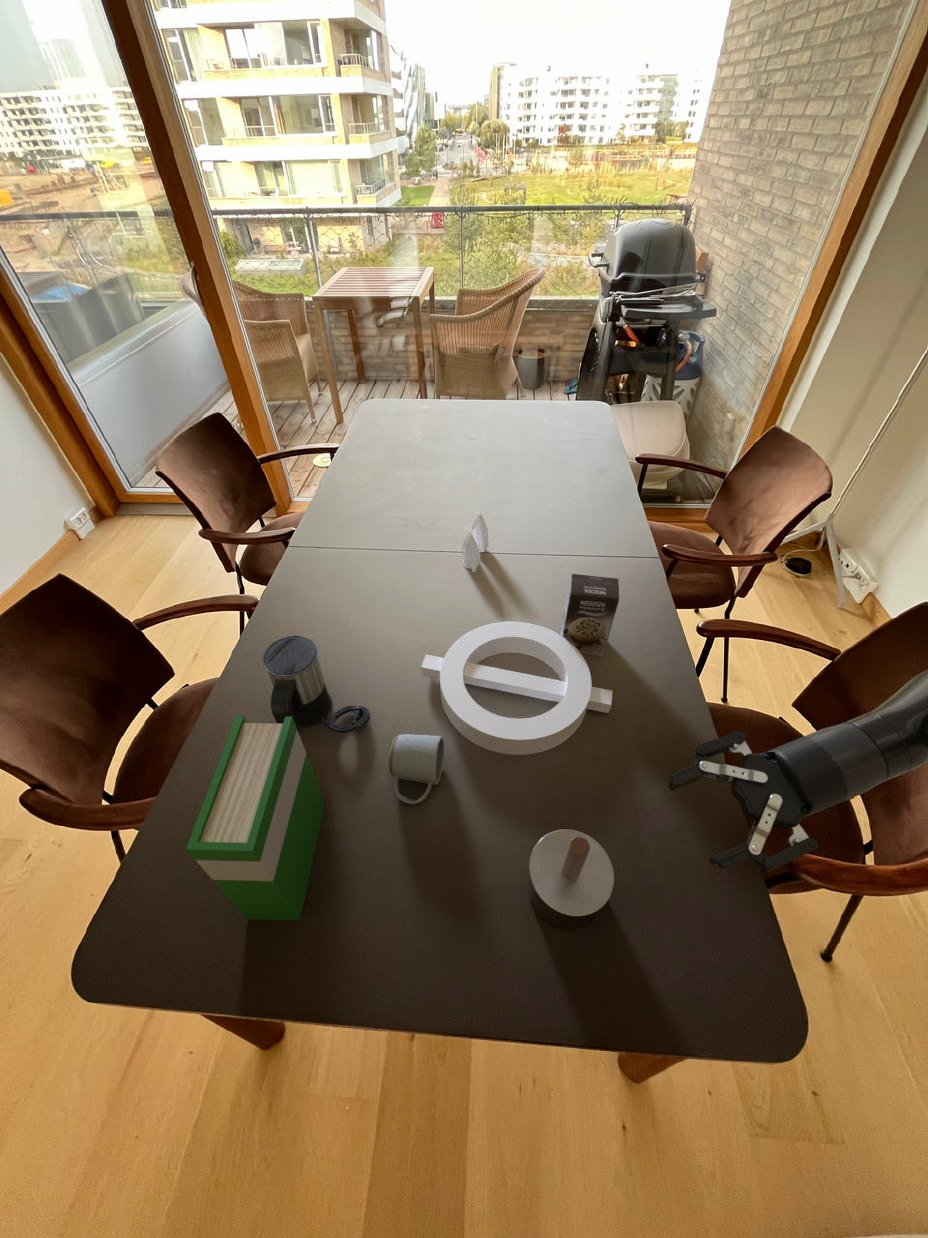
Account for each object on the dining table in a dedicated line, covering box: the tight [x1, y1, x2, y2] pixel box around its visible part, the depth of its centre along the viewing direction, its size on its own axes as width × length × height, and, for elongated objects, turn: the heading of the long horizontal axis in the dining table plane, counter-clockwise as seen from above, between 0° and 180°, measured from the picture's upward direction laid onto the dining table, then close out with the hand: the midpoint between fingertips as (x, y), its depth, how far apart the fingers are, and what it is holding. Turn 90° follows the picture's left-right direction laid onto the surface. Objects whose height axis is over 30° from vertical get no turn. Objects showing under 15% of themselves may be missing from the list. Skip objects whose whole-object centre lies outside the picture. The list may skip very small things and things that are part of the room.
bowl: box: [527, 876, 599, 932], centre depth 77 cm, size 10×10×7 cm
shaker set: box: [462, 511, 489, 573], centre depth 131 cm, size 12×4×11 cm, turn 160°
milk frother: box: [261, 635, 371, 737], centre depth 97 cm, size 14×16×15 cm
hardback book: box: [185, 715, 326, 922], centre depth 75 cm, size 18×7×24 cm, turn 179°
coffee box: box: [559, 573, 620, 658], centre depth 109 cm, size 9×6×16 cm
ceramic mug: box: [388, 733, 445, 805], centre depth 90 cm, size 11×8×8 cm
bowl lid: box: [528, 829, 615, 917], centre depth 72 cm, size 11×11×9 cm
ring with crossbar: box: [420, 621, 613, 756], centre depth 104 cm, size 28×28×5 cm
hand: (690, 823), depth 61 cm, fingers open, 8 cm apart
